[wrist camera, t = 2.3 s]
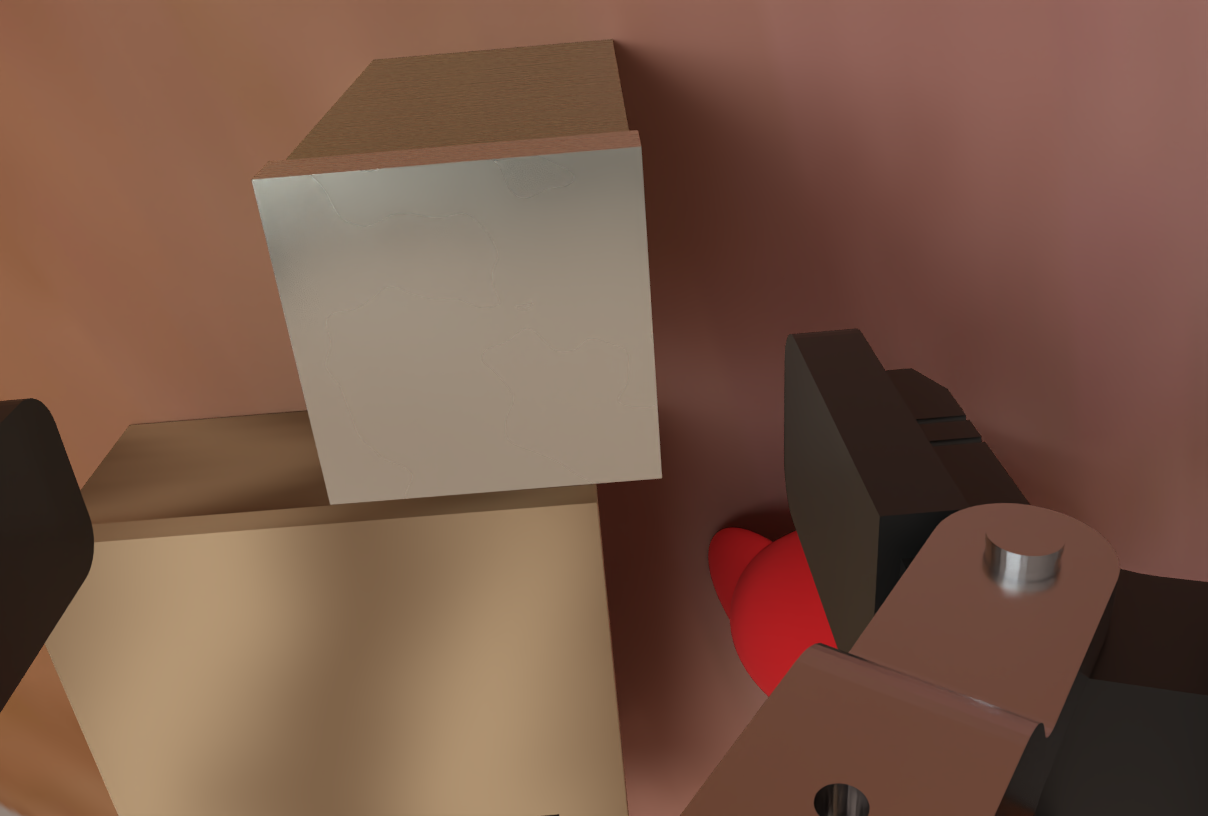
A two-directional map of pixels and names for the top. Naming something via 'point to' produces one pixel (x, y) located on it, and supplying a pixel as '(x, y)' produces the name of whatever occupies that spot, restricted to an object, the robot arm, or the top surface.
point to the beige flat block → (335, 638)
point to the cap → (767, 601)
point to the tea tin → (470, 276)
